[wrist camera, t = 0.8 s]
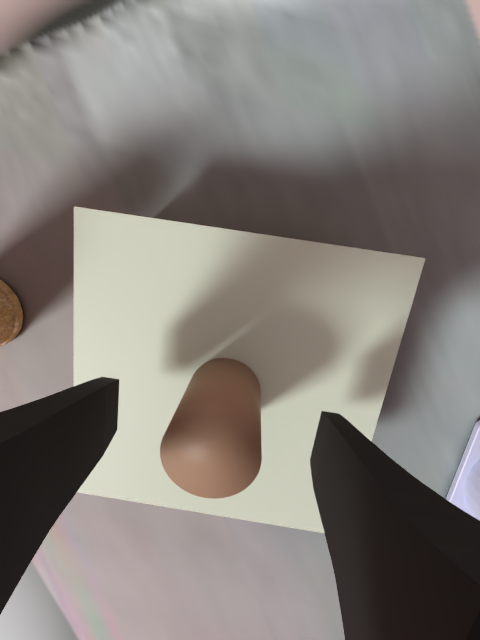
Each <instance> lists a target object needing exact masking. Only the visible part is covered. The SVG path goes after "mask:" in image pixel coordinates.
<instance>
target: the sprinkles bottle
mask: <svg viewBox="0 0 480 640" xmlns="http://www.w3.org/2000/svg"><path fill="white" fill-rule="evenodd" d="M22 321H23V311H22V308H21V304H20V302H19V299H18V297H17V296H16V294H15V293H14V292H13V291H12V290H11V289H10V287H9V286H8V285H6V284H5V283H4V282H3V281H2V280H0V346H2V345H5V344H7V343H8V342H10V341H12V340H13V339H14V338H15V337H16V336H17V334H18V333H19V331H20V329H21V327H22Z"/></svg>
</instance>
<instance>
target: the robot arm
mask: <svg viewBox="0 0 480 640" xmlns="http://www.w3.org/2000/svg"><path fill="white" fill-rule="evenodd" d="M118 401H119V379H114V378H107V377H100V378H96V379H93V380H90V381H87V382H85V383H82V384H79V385H77V386H74V387H71V388H69V389H66V390H63V391H61V392H58V393H55V394H53V395H50V396H47V397H45V398H42V399H39V400H36V401H33V402H30V403H27V404H24V405H21V406H18V407H16V408H13V409H9V410H6V411H3V412H0V614H1V612H2V610H3V609H4V607H5V605H6V603H7V602H8V600H9V598H10V596H11V595H12V593H13V591H14V589H15V588H16V586H17V584H18V583H19V581H20V579H21V577H22V576H23V574H24V572H25V570H26V568H27V567H28V565H29V564H30V562H31V560H32V559H33V557H34V555H35V554H36V552H37V550H38V549H39V547H40V545H41V544H42V542H43V540H44V539H45V537H46V535H47V534H48V532H49V530H50V529H51V527H52V526H53V524H54V523H55V521H56V520H57V519H58V517H59V516H60V514H61V513H62V511H63V510H64V509H65V507H66V506H67V505H68V503H69V502H70V501H71V499H72V498H73V496H74V495H75V494H76V492H77V491H78V490H79V488H80V487H81V485H82V484H83V483H84V481H85V480H86V479H87V477H88V476H89V475H90V473H91V472H92V470H93V469H94V468H95V466H96V465H97V463H98V462H99V461H100V459H101V458H102V456H103V455H104V453H105V451H106V450H107V448H108V446H109V444H110V442H111V441H112V439H113V437H114V435H115V433H116V431H117V424H118ZM310 466H311V475H312V482H313V489H314V493H315V497H316V501H317V505H318V509H319V513H320V517H321V521H322V525H323V529H324V533H325V536H326V540H327V544H328V548H329V552H330V556H331V560H332V564H333V569H334V573H335V578H336V584H337V590H338V596H339V602H340V608H341V614H342V621H343V627H344V634H345V640H480V420H479V421H478V422H476V424H475V426H474V428H473V431H472V433H471V436H470V439H469V441H468V444H467V446H466V449H465V451H464V454H463V456H462V459H461V462H460V464H459V467H458V469H457V472H456V474H455V477H454V479H453V482H452V485H451V487H450V490H449V492H448V495H447V497H446V499H444V498H443V497H442V496H440V495H439V494H437V493H436V492H434V491H433V490H432V489H430V488H429V487H427V486H426V485H424V484H423V483H422V482H420V481H419V480H418V479H416V478H415V477H413V476H412V475H411V474H410V473H408V472H407V471H406V470H405V469H403V468H402V467H401V466H400V465H398V464H397V463H396V462H395V461H393V460H392V459H391V458H390V457H388V456H387V455H386V454H385V453H384V452H383V451H381V450H380V449H379V448H378V447H377V446H376V445H375V444H373V443H372V442H371V441H370V440H369V439H368V438H367V437H366V436H364V435H363V434H362V433H361V432H360V431H359V430H358V429H357V428H356V427H354V426H353V425H352V424H351V423H350V422H349V421H348V420H347V419H345V418H344V417H343V416H342V415H340V414H338V413H332V412H325V411H321V416H320V420H319V424H318V428H317V432H316V436H315V441H314V445H313V449H312V453H311V457H310Z"/></svg>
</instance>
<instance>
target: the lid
mask: <svg viewBox="0 0 480 640" xmlns="http://www.w3.org/2000/svg"><path fill="white" fill-rule="evenodd" d="M425 259H426V258H421V257H414V256H407V255H400V254H394V253H387V252H380V251H373V250H366V249H360V248H353V247H346V246H339V245H332V244H326V243H319V242H312V241H305V240H298V239H292V238H285V237H278V236H271V235H265V234H258V233H251V232H244V231H237V230H231V229H224V228H217V227H210V226H203V225H197V224H190V223H183V222H176V221H169V220H163V219H156V218H149V217H142V216H135V215H129V214H122V213H115V212H108V211H101V210H95V209H88V208H81V207H74V386H77V385H79V384H82V383H85V382H87V381H90V380H93V379H96V378H100V377H107V378H114V379H119V401H118V424H117V431H116V433H115V435H114V437H113V439H112V441H111V442H110V444H109V446H108V448H107V450H106V451H105V453H104V455H103V456H102V458H101V459H100V461H99V462H98V463H97V465H96V466H95V468H94V469H93V470H92V472H91V473H90V475H89V476H88V477H87V479H86V480H85V481H84V483H83V484H82V485H81V487H80V488H79V490H78V491H77V492H79V493H85V494H91V495H97V496H103V497H109V498H115V499H121V500H127V501H133V502H139V503H145V504H151V505H157V506H163V507H169V508H175V509H181V510H187V511H193V512H199V513H205V514H211V515H217V516H223V517H229V518H235V519H242V520H248V521H254V522H260V523H266V524H272V525H278V526H284V527H290V528H296V529H302V530H308V531H314V532H320V533H324V529H323V525H322V521H321V517H320V513H319V509H318V505H317V501H316V497H315V493H314V489H313V482H312V475H311V466H310V457H311V453H312V449H313V445H314V441H315V436H316V432H317V428H318V424H319V420H320V416H321V411H325V412H332V413H338V414H340V415H342V416H343V417H344V418H345V419H347V420H348V421H349V422H350V423H351V424H352V425H353V426H354V427H356V428H357V429H358V430H359V431H360V432H361V433H362V434H363V435H364V436H366V437H367V438H368V439H369V440H370V441H372V438H373V434H374V431H375V428H376V424H377V421H378V417H379V414H380V411H381V407H382V404H383V401H384V397H385V394H386V390H387V387H388V384H389V380H390V377H391V374H392V370H393V367H394V363H395V360H396V357H397V353H398V350H399V346H400V343H401V340H402V336H403V333H404V330H405V326H406V323H407V319H408V316H409V313H410V309H411V306H412V303H413V299H414V296H415V292H416V289H417V286H418V282H419V279H420V275H421V272H422V269H423V265H424V262H425Z"/></svg>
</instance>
